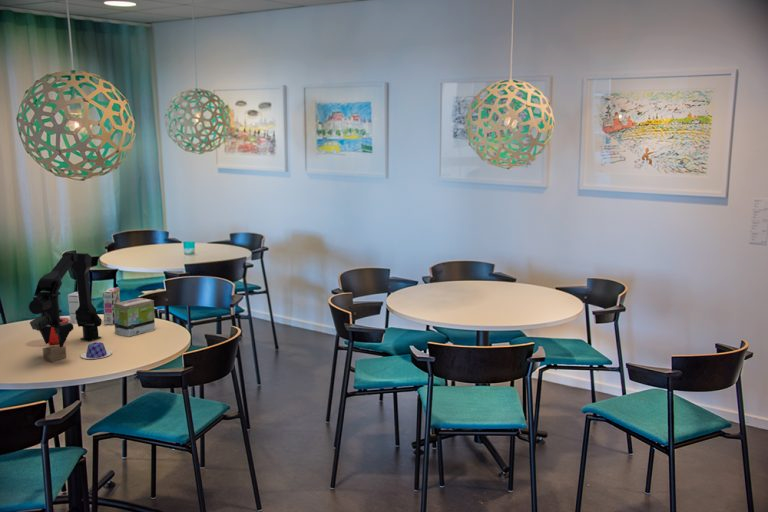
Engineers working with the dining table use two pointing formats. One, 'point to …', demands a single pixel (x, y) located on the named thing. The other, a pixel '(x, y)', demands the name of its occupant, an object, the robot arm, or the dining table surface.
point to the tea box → (134, 317)
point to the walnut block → (54, 353)
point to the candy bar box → (110, 304)
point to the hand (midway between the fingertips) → (54, 345)
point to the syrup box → (73, 306)
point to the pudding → (96, 351)
